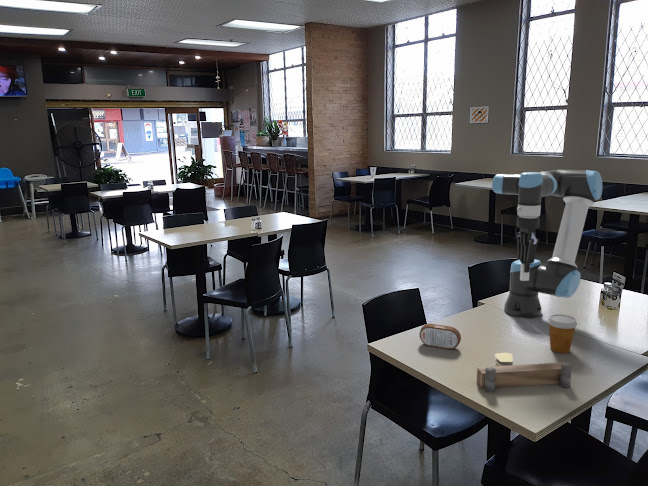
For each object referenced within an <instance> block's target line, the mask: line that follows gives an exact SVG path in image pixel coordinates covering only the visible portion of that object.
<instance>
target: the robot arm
mask: <svg viewBox="0 0 648 486" xmlns="http://www.w3.org/2000/svg"><path fill="white" fill-rule="evenodd" d="M491 188H492V189H491V190H492V191H493V192H494V193H495V194H500V195H513V196H514V195H516V196H518V199H517V200H518V201H517V207H516V211H517V213H516V214H517V217H516V226H517V228H519V232H516V233H515V235H516V236H515V237H516V245H517V246H516V247H517V260H515V261H513V262H512V263H511V266H510V271H509V275H510V276H509V292H508V295H507V298H506V301H505V302H504V306H503V311H504V312H505V313H506V314H508V315H510V316H513V317H517V318H524V319H525V318H526V319H530V318H538V317H540V316H542V309H543V308H542V305H541V302H540V298H539V293H541V294H545V295H548V296H549V295H550V296H555V297H557V298H565V299H569V298H571V297H573V295H575V293H576V292H577V290H578V289H579V286H580V284H581V273H580V271H579V270H578V265H577V264H576V263H575V262H576V260H577V259H576V258H577V254H578V251H579V247H580V242H581V239H582V235H583V230H584V227H585V222H586V219H587V215H588V210H589V208H590V207H591V206H593V205H594V204H595V201H597V200H600V199H601V197H602V195H603V179H602V176H601V174H600V172H599V171H597V170H590V169H583V170H582V169H552V170H546V171H545V170H544V171H539V172H535V171H532V172H531V171H527V172H522V173H520V174H519V173H517V174H514V173H513V174H511V173H510V174H507V173H506V174H505V173H498V174H495V176H493V179H492V181H491ZM548 196H552V197H553V196H554V197H560V198H562V201H563V202H564V203H565V205H564V209H563V214H562V218H561V221H560V224H559V225H560V226H559V229H558V233H557V237H556V242H555V244H554V248H553V253H552V257H551V258H549V259H547V261H546V264H545V265H543V264H542V262H541V261H540V259H535V257H536V253H537V249H538V248H537V247H538V244H539V242H540V239H539V238H536V234H537V233H536V229H539V228H540V221H541V218H540V216H541V208H542V198H544V197H548Z"/></svg>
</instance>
